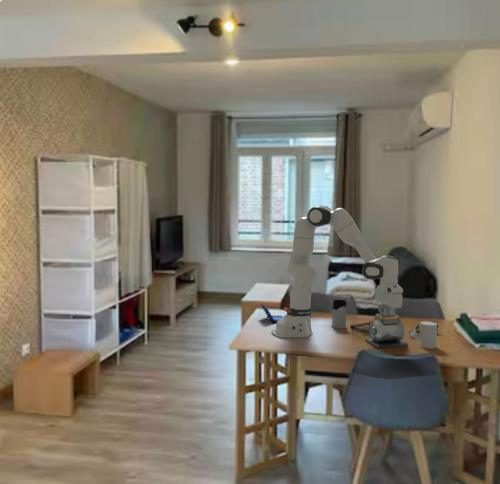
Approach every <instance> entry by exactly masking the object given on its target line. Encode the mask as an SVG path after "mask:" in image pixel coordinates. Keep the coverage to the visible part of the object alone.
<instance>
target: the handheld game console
mask: <svg viewBox="0 0 500 484" xmlns="http://www.w3.org/2000/svg"><path fill="white" fill-rule="evenodd" d="M260 306H261V307H262V309H263V312H264V313H265V315H266V318H267V319H268V318H269V319H270V320H269V319H268V320H269V321H270V322H271V321H272V323H273V324H277V322H278V320H280V319H281V318H282V317H283V316H282V315H272V314H271V312H270V310H269V308H267V307H266V306H265V305H263V304H262V303H261V304H260Z"/></svg>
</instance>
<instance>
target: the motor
mask: <svg viewBox="0 0 500 484" xmlns="http://www.w3.org/2000/svg"><path fill="white" fill-rule="evenodd" d="M368 330H369V335H370V337H365V338H364V342H367V343H368V344H370V345H372V346H374V347H376V348H377V349H389V348H401V347H408V346H409V343H408V342H407V341H404V340H403V339H404V337H405V325H404V323H403V321H402V319H401V318H400V315H397V314H395V316H388V317H384V316H381V315H380V313H375V315H374V317H373V320H371V322H370V323H369V329H368Z"/></svg>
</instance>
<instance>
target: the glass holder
mask: <svg viewBox="0 0 500 484" xmlns="http://www.w3.org/2000/svg"><path fill="white" fill-rule="evenodd" d="M329 311H330V314H331V316H332V320H331V326H330V327H331V328H334V329H347V325H346V324H347V301H346V300H345V299H334V300H330V302H329Z"/></svg>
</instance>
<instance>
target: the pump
mask: <svg viewBox="0 0 500 484" xmlns="http://www.w3.org/2000/svg"><path fill="white" fill-rule="evenodd" d="M377 311H378V312H379V314H380V315H381V316H384V317H388V316H395V315H396V308H395V309H394V311H393V315H389V314H388V311H390V306H388V305H385V306H381V305H380V307H379V308H378V309H377Z"/></svg>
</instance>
